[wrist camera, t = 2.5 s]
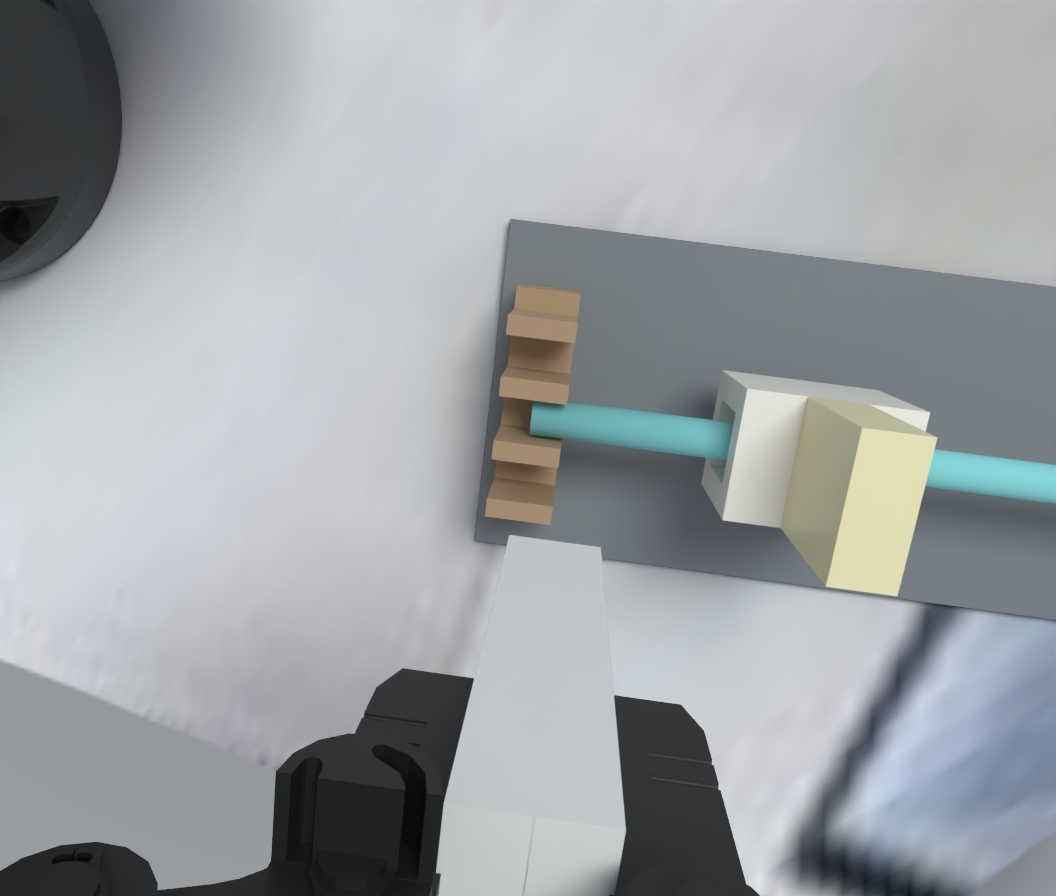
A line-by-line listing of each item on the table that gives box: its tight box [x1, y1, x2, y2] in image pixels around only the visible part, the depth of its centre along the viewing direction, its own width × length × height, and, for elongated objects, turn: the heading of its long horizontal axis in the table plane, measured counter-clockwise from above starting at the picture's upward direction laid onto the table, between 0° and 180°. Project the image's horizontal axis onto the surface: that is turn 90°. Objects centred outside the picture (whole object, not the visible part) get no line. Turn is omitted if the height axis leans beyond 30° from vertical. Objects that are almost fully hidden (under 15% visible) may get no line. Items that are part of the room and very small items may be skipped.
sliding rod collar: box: [701, 370, 937, 596], centre depth 26 cm, size 6×5×10 cm
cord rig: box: [474, 219, 1056, 620], centre depth 30 cm, size 36×14×7 cm, turn 83°
